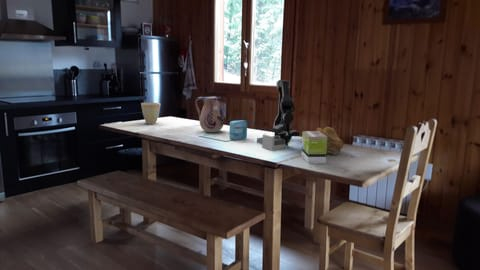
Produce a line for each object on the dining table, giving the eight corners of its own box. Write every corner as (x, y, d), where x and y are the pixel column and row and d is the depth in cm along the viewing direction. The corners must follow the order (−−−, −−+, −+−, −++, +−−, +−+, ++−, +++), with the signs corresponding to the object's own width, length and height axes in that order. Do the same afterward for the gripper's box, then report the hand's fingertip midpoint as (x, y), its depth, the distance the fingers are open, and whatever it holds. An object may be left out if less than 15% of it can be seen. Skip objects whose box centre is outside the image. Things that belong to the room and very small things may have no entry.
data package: (233, 140, 251) (234, 122, 249) (229, 139, 254) (229, 121, 252) (246, 138, 259) (247, 120, 257) (242, 137, 262) (242, 119, 260)
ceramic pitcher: (222, 134, 270) (223, 98, 265) (193, 133, 271) (193, 97, 266) (224, 129, 287) (225, 96, 283) (196, 128, 288) (196, 95, 283)
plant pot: (147, 125, 295) (147, 105, 292) (138, 123, 306) (137, 103, 302) (164, 123, 305) (164, 104, 302) (154, 121, 316) (154, 102, 312)
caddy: (284, 145, 240) (284, 137, 239) (289, 146, 237) (289, 139, 236) (268, 147, 233) (268, 139, 232) (273, 149, 229) (273, 141, 228)
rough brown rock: (334, 160, 210) (339, 134, 207) (306, 153, 219) (310, 128, 216) (347, 153, 230) (351, 129, 227) (321, 147, 238) (325, 124, 235)
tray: (277, 139, 257) (277, 135, 256) (287, 142, 249) (287, 138, 249) (256, 142, 247) (257, 138, 246) (266, 145, 239) (266, 140, 239)
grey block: (276, 145, 239) (277, 133, 238) (286, 148, 232) (287, 135, 231) (262, 147, 233) (262, 134, 231) (271, 150, 226) (272, 137, 224)
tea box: (300, 156, 214) (302, 130, 211) (318, 156, 215) (319, 130, 212) (307, 163, 199) (309, 136, 196) (326, 163, 200) (328, 136, 197)
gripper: (266, 118, 237) (265, 143, 240) (286, 123, 222) (285, 149, 225) (279, 117, 243) (278, 141, 246) (300, 122, 228) (298, 147, 231)
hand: (284, 144), depth 237 cm, fingers closed on caddy, 2 cm apart
